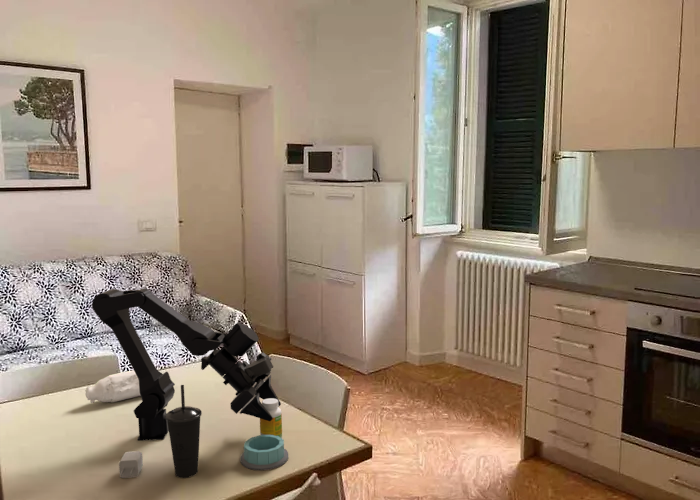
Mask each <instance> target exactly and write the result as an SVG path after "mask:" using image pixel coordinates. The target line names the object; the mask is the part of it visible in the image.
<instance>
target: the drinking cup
mask: <svg viewBox="0 0 700 500" xmlns="http://www.w3.org/2000/svg"><path fill="white" fill-rule="evenodd" d="M180 396H181V397H180V398H181V400H180V403H181V406H178V407H175V408H173V409H171V410H169V411H168V412H166V416H165V418H166V420H167V423H168V429H169V431H168V435H169V443H170V446H171V447H170V448H171V454H172V455H171V456H172V461H173V467H174V469H173V470H174V474H175V477H177V478H180V479H186V478H191V477H194V476H195V475H197V474H198V472H199V455H200V452H199V450H200V435H201V434H200V431H201V429H200V428H201V416H202V413H203V412H202V410H201V409H200V408H199V407H193V406H187V405H186V401H185V385H184V384H181V385H180Z"/></svg>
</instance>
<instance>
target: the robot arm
mask: <svg viewBox="0 0 700 500" xmlns="http://www.w3.org/2000/svg"><path fill="white" fill-rule="evenodd" d="M91 308H92V311H93V312H94V313H95V315H96V316H97V317H98V318H99V320H100V321H101V322H102V323H104V324H105V325H106V326H108V327H109V328H110V329H111V330H112V332H113V334H114V335H115V337H116V340H117V341H118V343H119V345H120V347H121V349H122V350H123V353H124V355H125V356H126V358H127V360H128V362H129V364H130V366H131V368H132V369H133V370H134V371H135V373H136V375H137V377H138V379H139V391H140V395H141V396H140V398H141V400H142V401H141V402H140V403H139V404H138V405H137V406H136V407H135V408H133V414H134V415H135V418H136V419H138V421H137V423H138V437H137V438H136V439H137V441H142V442H143V441H157V440H158V441H160V440H161V441H162V440H165V438H166V437H167V434H169V429H168V423H167V420H166V418H165V416H166V414H167V409H166V407H168V405H169V402H170V401H172V399H173V398H174V395H175V392H176V390H175V389H176V388H175V387H174V386H175V383H174V382H173V381H172V378H171V376H170V373H169V372H168V371H165V372H163V373H162V372H161V371H159V370H158V369H157V368H156V365H155V364H154V362H153V361H152V360H153V359H151V357H150V355H149V353H148V351H147V349H146V347H145V345H144V343H143V342H142V340H141V338H140V336H139V334H138V332H137V329H136V328H135V326H134V325H133V323H132V321H131V315H130V314H131V313H130V309H132V308H139V309H140V310H142V311H143V312H145V313H146V314H147V315H149V317H151V318H153V319H154V320H155V321H157V322H158V323H160V324H161V325H162V326H164V327H165V328H167V329H168V330H170V331H171V332H172V333H174V335H176V336H177V337H178V339H179V341H180V343H181V344H182V346H184V348H186V349H187V351H189V352H190V354H192V355H194V356H196V357H202V356H203V357H202V358H200V361H201V365H200V370H202V371H203V370H205V369H206V368H207V367H209V366H210V367H211V368H212V369H213V370H214V371H215V372H216V373H217V374H218V375H219V376H220V377H221V378H222V379H223V380H224V381H223V382H222V383H223V384H224V385H225V386H228V385H230V386H231V388H233V389H234V390H235V391H236V392H235V394H234V395H235V397H234V398H233V400H232V401H231V402H230V410H231V411H233V412H234V414H238V413H239V414H240V415H242V414H244V415H247V416H250V417H254V418H258V419H260V418H261V419H264V420H267V421H271V420H272V419H273V417H272V416H271V414H270V413H269V412H268V411H267V409H266V408H265V407H264V406H263V405H262V402H261V400H260V399H262V401H263V400H264V399H268V398H274V399H277V400H278V407H279V408H280V407H281V405H282V402H281V401H280V399H279V397H278V396H277V394H276V392H275V390H274V389H273V387H272V384H271V383H272V382H271V379H272V375H270V374H271V373H272V372H271V371H272V368H274V365H273V362H272V357H270V356H269V354H266V353H264V351H263V352H260V353H258V354H257V355H256V357H255V359H256V360H254V361H253V362H251V363H249V362H247V361H245V360H244V361H242V362H241V361H240V360H239V359H238V358H237V357H244V356H245V354H246V353H247V352H248V351H249V350H251V348H252V347H253V346H254V345H255V344H256V343H257V342H258V341H259V336H258V334H257V333H256V332H255V330H254V329H253V328H251V327H249V326H247V325H245V324H243V323H241V322H240V321H237V322H236V323H235V324H234V325H233V326H232V328H230V330H229V331H228V333H226V332H218V331H215V330H213V329H212V328H210V327H208V326H206V325H204V324H202V323H199V322H196V321H193V320H191V319H188V318H187V317H186V316H184V315H182V314H181V313H180V312H178V311H177V310H176V309H174V308H173V307H172V306H171V305H169V304H168V303H166V302H165V301H163V299H161V298H159V297H158V296H157V295H155V294H154V293H153V292H152V291H151V290H150V289H148V288H146V287H145V288H140V289H130V290H129V289H128V290H123V291H122V290H119V289H116V288H112V289H108V290H106V291H103V292H101V293H98V294H97V295H96V296H94V298H93V300H92V303H91ZM221 345H223V346H222V347H221V348H220V349H218V348H219V347H220V346H221ZM210 351H211V352H210ZM209 352H210V353H209ZM208 353H209V355H207V354H208ZM206 355H207V356H206Z"/></svg>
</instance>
